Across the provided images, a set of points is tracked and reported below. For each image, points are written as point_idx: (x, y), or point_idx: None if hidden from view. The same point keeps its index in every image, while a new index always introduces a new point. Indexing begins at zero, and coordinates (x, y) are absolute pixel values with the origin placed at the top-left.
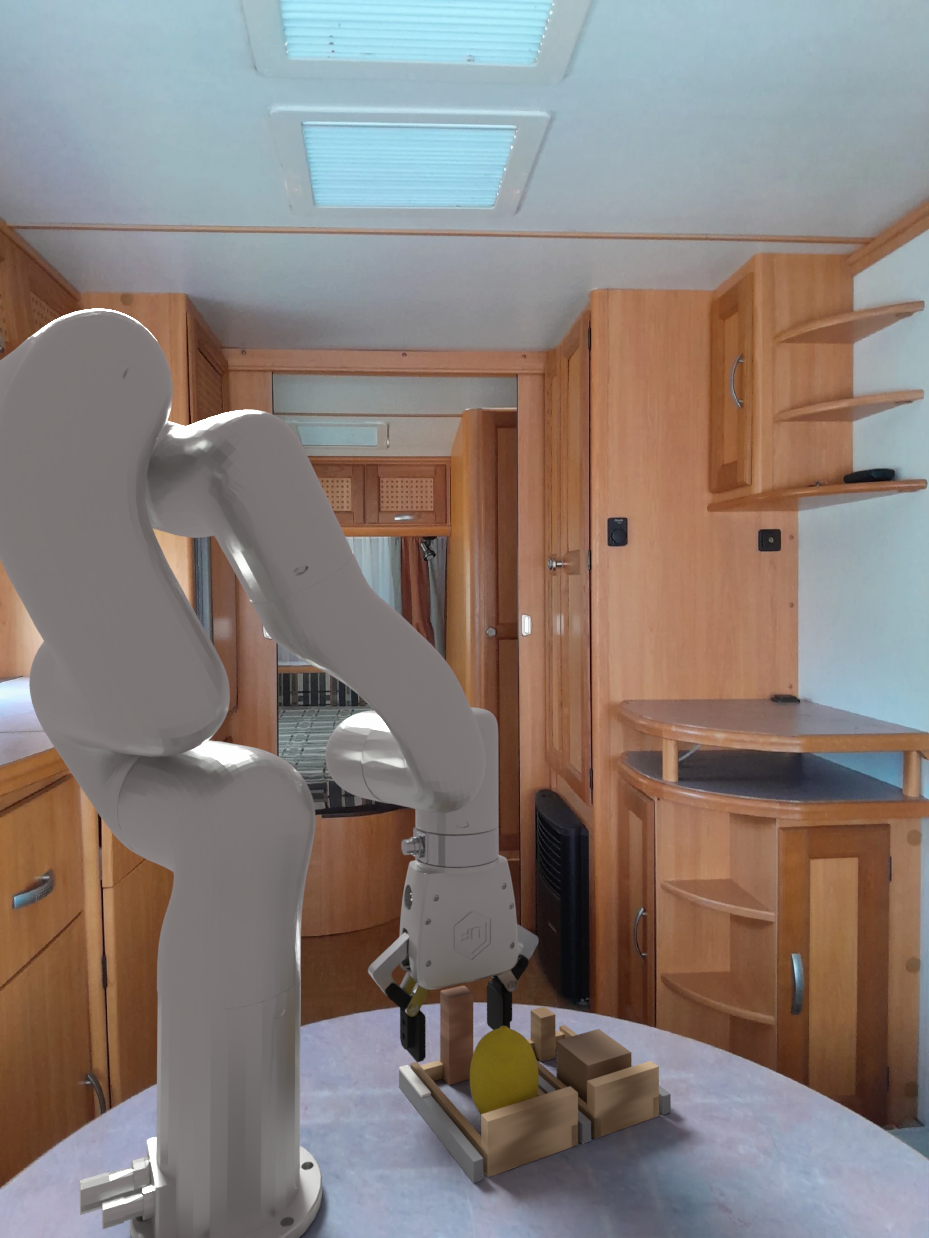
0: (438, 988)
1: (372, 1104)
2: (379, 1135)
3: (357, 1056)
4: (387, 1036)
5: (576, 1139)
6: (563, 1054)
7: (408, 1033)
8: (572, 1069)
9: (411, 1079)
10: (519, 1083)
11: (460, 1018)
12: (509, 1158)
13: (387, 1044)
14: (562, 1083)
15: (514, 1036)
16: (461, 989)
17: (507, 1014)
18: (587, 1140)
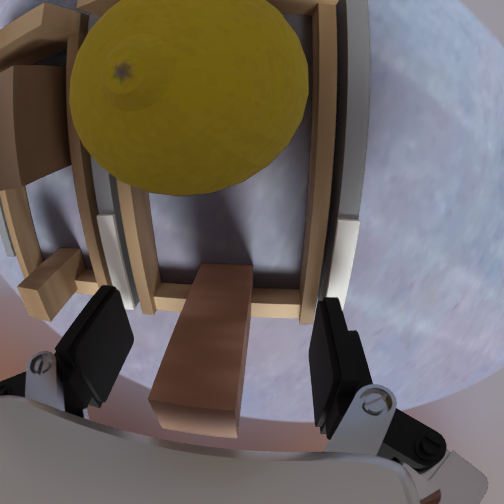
0: (318, 452)
1: (393, 276)
2: (430, 198)
3: None
4: (275, 396)
5: None
6: (30, 154)
7: (362, 354)
8: (38, 116)
9: (344, 278)
10: None
11: (205, 354)
12: None
13: (285, 385)
14: (69, 130)
15: (111, 32)
16: (176, 421)
17: (84, 315)
18: None
